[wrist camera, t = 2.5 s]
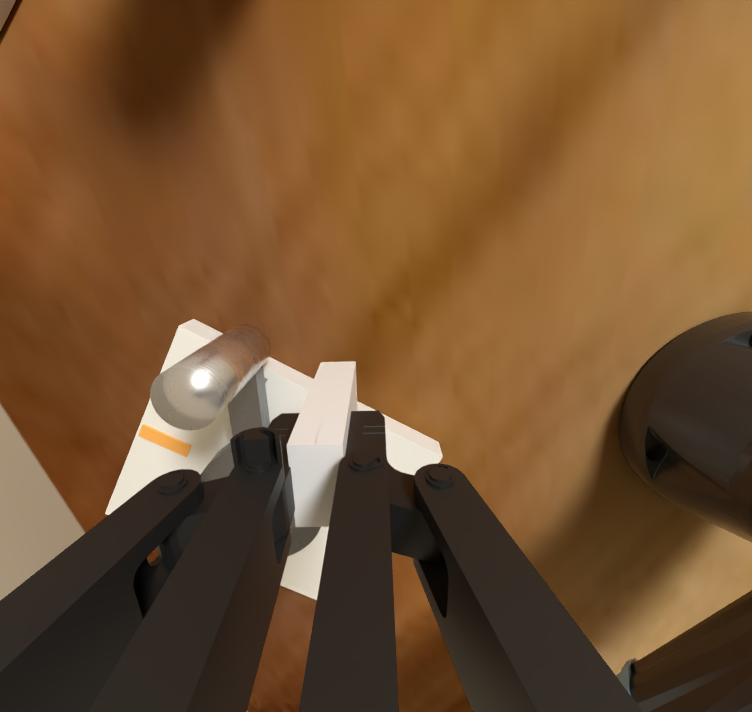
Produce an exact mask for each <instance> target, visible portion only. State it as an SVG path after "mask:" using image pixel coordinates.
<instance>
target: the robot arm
mask: <svg viewBox="0 0 752 712" xmlns="http://www.w3.org/2000/svg"><path fill="white" fill-rule="evenodd" d="M620 441H621V446H622V450H623V453H624V455H625V458H626V460H627V462H628V463H629V465H630V466H631V468H632V469H633V470H634V472H635V473H636V474H637V475H638V476H639V477H640V478H641V479H642V480H643V481H644V482H645V483H647V484H648V485H649V486H650V487H651V488H652V489H653V490H654V491H655V492H656V493H657V494H659V495H660V496H661V497H663V498H664V499H665V500H667V501H668V502H670V503H671V504H673V505H675V506H677V507H679V508H681V509H683V510H685V511H687V512H689V513H691V514H694V515H696V516H698V517H700V518H702V519H704V520H706V521H708V522H710V523H712V524H714V525H717V526H719V527H721V528H723V529H725V530H727V531H729V532H731V533H733V534H735V535H737V536H740V537H742V538H744V539H746V540H748V541H750V542H752V312H743V313H736V314H730V315H726V316H722V317H719V318H716V319H713V320H710V321H707V322H705V323H703V324H700V325H698V326H696V327H694V328H692V329H690V330H688V331H687V332H685V333H683V334H682V335H680V336H678V337H677V338H676V339H674V340H673V341H671V342H670V343H669V344H668V345H666V346H665V347H664V348H663V349H662V350H660V351H659V352H658V353H657V354H656V355H655V356H654V357H653V358H652V359H651V360H650V361H649V362H648V364H647V365H646V366H645V367H644V368H643V370H642V371H641V372H640V374H639V375H638V377H637V378H636V380H635V381H634V383H633V385H632V387H631V389H630V391H629V393H628V395H627V397H626V400H625V403H624V406H623V409H622V413H621V419H620ZM230 444H231V450H232V456H233V462H234V468H233V469H232V471H231V473H230V475H229V476H227V477H223V478H220V479H215V480H210V481H206V482H202V478H201V475H200V474H199V473H198V472H197V471H195V470H192V469H180V470H174V471H170V472H168V473H166V474H163V475H161V476H159V477H157V478H156V479H154V480H153V481H151V482H150V483H149V484H147V485H146V486H145V487H144V488H142V489H141V490H140V491H138V492H137V493H136V494H135V495H133V496H132V497H131V498H130V499H128V500H127V501H126V502H125V503H123V504H122V505H121V506H120V507H118V508H117V509H116V510H114V511H113V512H112V513H111V514H109V515H108V516H107V517H106V518H104V519H103V520H102V521H101V522H99V523H98V524H97V525H96V526H94V527H93V528H92V529H90V530H89V531H88V532H87V533H85V534H84V535H83V536H82V537H80V538H79V539H78V540H77V541H75V542H74V543H73V544H72V545H70V546H69V547H68V548H66V549H65V550H64V551H63V552H61V553H60V554H59V555H58V556H56V557H55V558H54V559H53V560H51V561H50V562H49V563H48V564H46V565H45V566H44V567H43V568H41V569H40V570H39V571H37V572H36V573H35V574H34V575H32V576H31V577H30V578H29V579H27V580H26V581H25V582H24V583H23V584H21V585H20V586H19V587H17V588H16V589H15V590H13V591H12V592H11V593H10V594H8V595H7V596H6V597H5V598H4V599H2V600H1V601H0V712H246V711H247V707H248V703H249V700H250V696H251V692H252V688H253V685H254V681H255V677H256V673H257V670H258V666H259V662H260V658H261V655H262V651H263V647H264V643H265V640H266V636H267V632H268V628H269V625H270V621H271V617H272V614H273V610H274V606H275V602H276V599H277V595H278V591H279V587H280V584H281V580H282V576H283V572H284V569H285V565H286V561H287V557H288V554H289V550H290V546H291V542H292V533H291V522H292V519H293V515H294V517H295V526H296V527H329V529H328V535H327V541H326V547H325V554H324V560H323V566H322V572H321V578H320V584H319V590H318V597H317V603H316V609H315V615H314V621H313V627H312V633H311V640H310V646H309V652H308V658H307V664H306V670H305V677H304V683H303V689H302V695H301V701H300V707H299V712H399V708H398V686H397V663H396V641H395V619H394V596H393V574H392V552H394V553H397V554H401V555H405V556H408V557H412V558H413V562H414V566H415V568H416V571H417V573H418V576H419V578H420V581H421V583H422V586H423V588H424V591H425V593H426V596H427V598H428V601H429V603H430V606H431V608H432V611H433V613H434V616H435V618H436V621H437V623H438V626H439V628H440V631H441V633H442V636H443V638H444V641H445V643H446V646H447V648H448V651H449V653H450V656H451V658H452V661H453V664H454V666H455V669H456V671H457V674H458V676H459V679H460V681H461V684H462V686H463V689H464V691H465V694H466V696H467V699H468V701H469V704H470V706H471V709H472V711H473V712H752V590H751V591H750V592H748V593H747V594H745V595H743V596H742V597H740V598H739V599H737V600H735V601H734V602H732V603H731V604H729V605H727V606H726V607H724V608H722V609H721V610H719V611H718V612H716V613H714V614H713V615H711V616H710V617H708V618H706V619H705V620H703V621H702V622H700V623H698V624H697V625H695V626H693V627H692V628H690V629H689V630H687V631H685V632H684V633H682V634H681V635H679V636H677V637H676V638H674V639H672V640H671V641H669V642H668V643H666V644H664V645H663V646H661V647H660V648H658V649H656V650H655V651H653V652H652V653H650V654H648V655H647V656H645V657H643V658H642V659H640V660H639V661H638V660H637V659H635V658H634V659H631V660H628V661H627V662H626V663H625V665H624V666H623V668H622V670H621V672H620V673H619V674H618V675H615V674H614V673H613V671H612V670H611V669H610V668H609V666H608V665H607V664H606V662H605V661H604V660H603V658H602V657H601V656H600V654H599V653H598V652H597V650H596V649H595V648H594V646H593V645H592V644H591V642H590V641H589V640H588V638H587V637H586V636H585V634H584V633H583V632H582V630H581V629H580V628H579V626H578V625H577V624H576V622H575V621H574V620H573V618H572V617H571V616H570V614H569V613H568V612H567V610H566V609H565V608H564V606H563V605H562V604H561V603H560V601H559V600H558V599H557V597H556V596H555V595H554V593H553V592H552V591H551V589H550V588H549V587H548V585H547V584H546V583H545V581H544V580H543V579H542V577H541V576H540V575H539V573H538V572H537V571H536V569H535V568H534V567H533V565H532V564H531V563H530V561H529V560H528V559H527V557H526V556H525V555H524V553H523V552H522V551H521V549H520V548H519V547H518V545H517V544H516V543H515V542H514V540H513V539H512V538H511V536H510V535H509V534H508V532H507V531H506V530H505V528H504V527H503V526H502V524H501V523H500V522H499V520H498V519H497V518H496V516H495V515H494V514H493V512H492V511H491V510H490V508H489V507H488V506H487V504H486V503H485V502H484V500H483V499H482V498H481V496H480V495H479V494H478V492H477V491H476V490H475V488H474V487H473V486H472V484H471V483H470V482H469V480H468V479H467V478H466V477H465V475H464V474H463V473H462V472H461V471H459V470H458V469H457V468H454V467H452V466H450V465H445V464H440V463H439V464H428V465H425V466H422V467H421V468H420V469H418V470H417V471H416V473H415V475H411V474H406V473H403V472H400V471H398V470H396V469H394V468H393V467H392V466H391V465H390V464H389V463H388V461H387V454H386V433H385V417H384V416H383V415H382V414H381V413H380V411H358V410H357V385H356V362H321V364H320V366H319V368H318V371H317V373H316V376H315V378H314V380H313V383H312V385H311V388H310V390H309V392H308V395H307V397H306V400H305V402H304V404H303V407H302V409H301V412H300V413H281V414H280V415H278V416H277V417H276V418H274V419H273V420H272V421H271V423H270V425H269V427H257V428H251V429H248V430H244V431H242V432H240V433H238V434H236V435H235V436H234V437H232V438H231V439H230ZM156 547H157V549H158V552H159V556H158V557H157V558H156V559H155V560H154V561H153V562H151V563H150V564H149V563H148V561H147V556H148V555H149V554H150V553H151V552H152V551H153V550H154V549H155V548H156Z"/></svg>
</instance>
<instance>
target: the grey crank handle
mask: <svg viewBox="0 0 752 712" xmlns="http://www.w3.org/2000/svg"><path fill="white" fill-rule="evenodd" d="M269 355H270V343H269V340H268V338H267V336H266V335H265V334H264V332H262V331H261V330H260V329H259V328H257V327H255V326H252V325H248V324H240V325H237V326H234V327H233V328H231V329H229V330H228V331H226V332H225V333H223V334H222V335H220V336H218V337H217V338H215V339H214V340H212V341H211V342H209V343H207V344H206V345H204V346H203V347H201V348H200V349H198V350H196V351H195V352H193V353H192V354H190V355H189V356H187V357H186V358H184V359H182V360H181V361H179V362H178V363H176V364H175V365H173V366H171V367H170V368H168V369H167V370H165V371H164V372H162V373H161V374H159V375H158V376H157V377H156V378H155V380H154V381H153V384H152V386H151V391H150V397H151V402H152V405H153V407H154V409H155V411H156V413H157V414H158V415H159V416H160V417H161V418H162V419H163V420H164V421H165V422H166V423H168V424H169V425H171V426H173V427H176V428H178V429H182V430H199V429H202V428H204V427H207V426H208V425H210V424H211V423H212V422H213V421H214V420H215V419H216V417H217V416H218V415H219V414H220V413H221V412H222V411H223V410H224V408H225V407H226V406H227V405H228V411H229V417H230V424H231V430H232V436H233V437H234V436H235V435H236V434H238V433H240V432H242V431H244V430H248V429H251V428H257V427H269V425H270V419H269V411H268V402H267V394H266V386H265V378H264V369H263V365H264V363H265V362H266V361H267V360H268V358H269ZM233 468H234V462H233V456H232V450H231V444H230V443H229V444H227V445H226V446H224V447H223V448H222V449H221V450H219V451H218V452H217V453H216V455H215V456H214V457H213V458H212V460H211V461H210V462H209V464H208V465H207V466H206V468H205V469H204V470H203V472H202V473H201V474H200V475H201V478H202V482H206V481H210V480H215V479H220V478H223V477H227V476H229V475H230V473H231V471H232V469H233ZM320 528H321V527H296V526H295V517H294V515H293V519H292V522H291V533H292V542H291V546H290V550H289V554H288V556H290V555H293V554H295V553H297V552H299V551H301V550H302V549H304V548H305V547H306V546H308V545H309V544H310V543H311V542H312V541H313V540H314V538H315V537H316V536H317V534H318V532H319V530H320Z"/></svg>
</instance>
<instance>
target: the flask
mask: <svg viewBox="0 0 752 712" xmlns="http://www.w3.org/2000/svg"><path fill="white" fill-rule="evenodd" d="M15 1H16V0H0V31H1V29H2V27H3V25H4V23H5V21H6V19H7V17H8V15H9V13H10V11H11V9H12V7H13V5H14V3H15Z"/></svg>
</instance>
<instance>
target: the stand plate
mask: <svg viewBox="0 0 752 712" xmlns="http://www.w3.org/2000/svg"><path fill="white" fill-rule="evenodd" d="M222 334H223V333H221V332H219V331H217V330H215V329H213V328H211V327H209V326H207V325H205V324H203V323H201V322H199V321H197V320H195V319H192V320H190V321H188V322H186V323H184V324H181V325H179V327H178V329H177V332H176V334H175V337H174V339H173V342H172V344H171V347H170V350H169V352H168V355H167V357H166V360H165V362H164V365H163V367H162V370H161V372H160V374H161V373H162V372H164V371H165V370H167V369H168V368H170V367H171V366H173V365H175V364H176V363H178V362H179V361H181V360H182V359H184V358H186V357H187V356H189V355H190V354H192V353H193V352H195V351H196V350H198V349H200V348H201V347H203V346H204V345H206V344H207V343H209V342H211V341H212V340H214V339H215V338H217V337H218V336H220V335H222ZM263 369H264V378H265V386H266V394H267V402H268V411H269V419H270V423H271V421H272V420H273V419H274V418H276V417H277V416H278V415H280V414H281V413H300V412H301V409H302V407H303V404H304V402H305V400H306V397H307V395H308V392H309V390H310V388H311V385H312V383H313V380H314V379H312V378H310V377H308V376H306V375H304V374H302V373H300V372H298V371H296V370H294V369H292V368H290V367H288V366H286V365H284V364H282V363H280V362H278V361H276V360H275V359H273V358H271V357H269V358H268V360H267V361H266V362H265V363H264V365H263ZM357 410H358V411H376V410H374V409H372V408H370V407H368V406H366V405H364V404H362V403H360V402H358V401H357ZM381 414H382V413H381ZM382 415H383V416H384V417H385V433H386V454H387V461H388V463H389V464H390V465H391V466H392V467H393V468H394V469H396V470H398V471H400V472H403V473H406V474H411V475H415V473H416V471H417V470H418V469H420V468H421V467H422V466H425V465H428V464H438V463H439V461H440V460H441V459H442V457H443V456H442V452H441V449H440V445H439V442H438V441H436V440H434V439H432V438H430V437H428V436H426V435H424V434H422V433H420V432H418V431H416V430H414V429H412V428H410V427H408V426H406V425H404V424H402V423H400V422H398V421H396V420H394V419H392V418H390V417H388V416H386V415H384V414H382ZM232 437H233V436H232V430H231V424H230V417H229V411H228V405H227V406H226V407H225V408H224V410H223V411H222V412H221V413H220V414H219V415H218V416H217V417H216V419H215V420H214V421H213V422H212V423H211V424H210V425H208V426H207V427H204V428H202V429H199V430H182V429H178V428H176V427H173V426H171V425H169V424H168V423H166V422H165V421H164V420H163V419H162V418H161V417H160V416H159V415H158V414H157V413H156V411H155V409H154V407H153V405H152V402H151V398H150V400H149V403H148V406H147V408H146V411H145V413H144V416H143V418H142V421H141V423H140V426H139V428H138V431H137V433H136V436H135V439H134V441H133V444H132V446H131V449H130V451H129V454H128V456H127V459H126V461H125V464H124V467H123V469H122V472H121V474H120V477H119V479H118V482H117V484H116V487H115V489H114V492H113V495H112V497H111V500H110V502H109V505H108V507H107V510H106V512H105V514H107V515H109V514H111V513H112V512H113V511H114V510H116V509H117V508H118V507H120V506H121V505H122V504H123V503H125V502H126V501H127V500H128V499H130V498H131V497H132V496H133V495H135V494H136V493H137V492H138V491H140V490H141V489H142V488H144V487H145V486H146V485H147V484H149V483H150V482H151V481H153V480H154V479H156V478H157V477H159V476H161V475H163V474H166V473H168V472H170V471H174V470H180V469H192V470H195V471H197V472H198V473H199V474H201V473H202V472H203V470H204V469H205V468H206V466H207V465H208V464H209V462H210V461H211V460H212V458H213V457H214V456H215V455H216V453H217V452H218V451H219V450H221V449H222V448H223V447H224V446H226V445H227V444H229V443H230V439H231V438H232ZM328 529H329V527H321V528H320V530H319V532H318V534H317V536H316V537H315V538H314V540H313V541H312V542H311V543H310V544H309V545H308V546H306V547H305V548H304V549H302V550H301V551H299V552H297V553H295V554H293V555H290V556H288V557H287V561H286V565H285V569H284V572H283V576H282V580H281V584H280V585H281V586H283V587H286V588H288V589H291V590H293V591H295V592H298V593H300V594H303V595H305V596H308V597H310V598H313V599H315V600H317V597H318V590H319V584H320V578H321V572H322V566H323V560H324V554H325V547H326V541H327V535H328Z"/></svg>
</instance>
